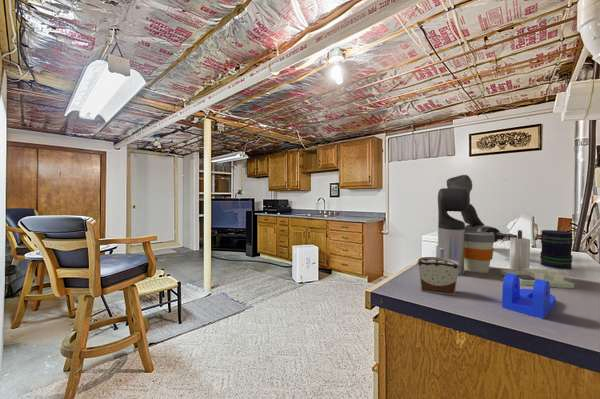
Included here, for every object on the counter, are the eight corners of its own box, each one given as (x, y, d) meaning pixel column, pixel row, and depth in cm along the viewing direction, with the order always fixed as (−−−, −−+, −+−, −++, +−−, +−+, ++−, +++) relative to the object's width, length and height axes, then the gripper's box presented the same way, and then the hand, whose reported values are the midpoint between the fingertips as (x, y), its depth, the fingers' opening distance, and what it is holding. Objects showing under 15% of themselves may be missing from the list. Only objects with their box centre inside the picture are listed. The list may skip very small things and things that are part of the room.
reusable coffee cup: (501, 274, 101) (502, 235, 100) (465, 273, 103) (466, 235, 102) (483, 265, 113) (484, 231, 113) (452, 264, 115) (453, 230, 115)
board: (520, 284, 90) (521, 274, 90) (501, 273, 102) (501, 264, 102) (574, 288, 86) (574, 278, 86) (546, 276, 99) (547, 267, 99)
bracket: (542, 320, 65) (543, 284, 65) (502, 308, 72) (502, 275, 71) (558, 302, 76) (559, 271, 75) (521, 293, 82) (522, 265, 82)
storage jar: (538, 265, 114) (539, 231, 113) (541, 261, 120) (542, 229, 120) (571, 270, 106) (572, 234, 106) (572, 266, 113) (573, 231, 113)
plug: (515, 271, 105) (516, 230, 104) (509, 268, 109) (510, 229, 109) (530, 272, 104) (531, 231, 103) (523, 269, 108) (524, 229, 108)
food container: (455, 288, 86) (456, 258, 86) (460, 295, 80) (460, 263, 80) (414, 284, 90) (415, 255, 90) (416, 290, 84) (416, 259, 84)
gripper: (472, 226, 135) (487, 230, 119) (504, 226, 132) (523, 231, 116) (472, 240, 135) (486, 247, 120) (504, 241, 132) (523, 248, 116)
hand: (505, 239), depth 118 cm, fingers open, 8 cm apart
